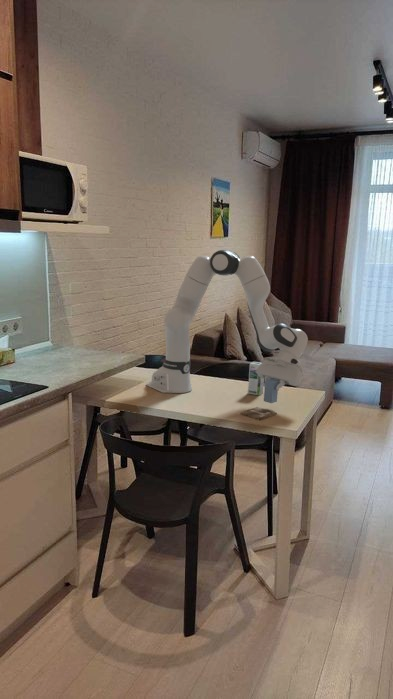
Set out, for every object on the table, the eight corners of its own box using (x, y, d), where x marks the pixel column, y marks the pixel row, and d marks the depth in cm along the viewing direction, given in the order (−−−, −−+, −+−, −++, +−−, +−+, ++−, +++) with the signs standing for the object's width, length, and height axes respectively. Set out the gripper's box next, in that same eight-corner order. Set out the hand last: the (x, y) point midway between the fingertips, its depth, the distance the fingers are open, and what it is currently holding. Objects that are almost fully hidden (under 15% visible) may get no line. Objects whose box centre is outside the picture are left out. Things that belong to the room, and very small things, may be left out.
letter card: (239, 414, 216) (240, 412, 216) (257, 408, 225) (257, 406, 225) (260, 420, 210) (260, 418, 209) (277, 414, 218) (277, 412, 218)
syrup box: (247, 393, 246) (249, 363, 243) (252, 390, 251) (254, 360, 248) (258, 395, 243) (261, 365, 240) (263, 392, 248) (265, 362, 246)
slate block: (263, 401, 224) (265, 380, 223) (268, 399, 227) (270, 379, 226) (271, 403, 222) (273, 382, 220) (276, 401, 225) (278, 381, 223)
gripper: (262, 353, 233) (247, 378, 228) (303, 362, 219) (288, 389, 214) (267, 362, 237) (253, 386, 232) (308, 371, 224) (293, 397, 218)
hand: (270, 388), depth 223 cm, fingers closed on slate block, 4 cm apart
